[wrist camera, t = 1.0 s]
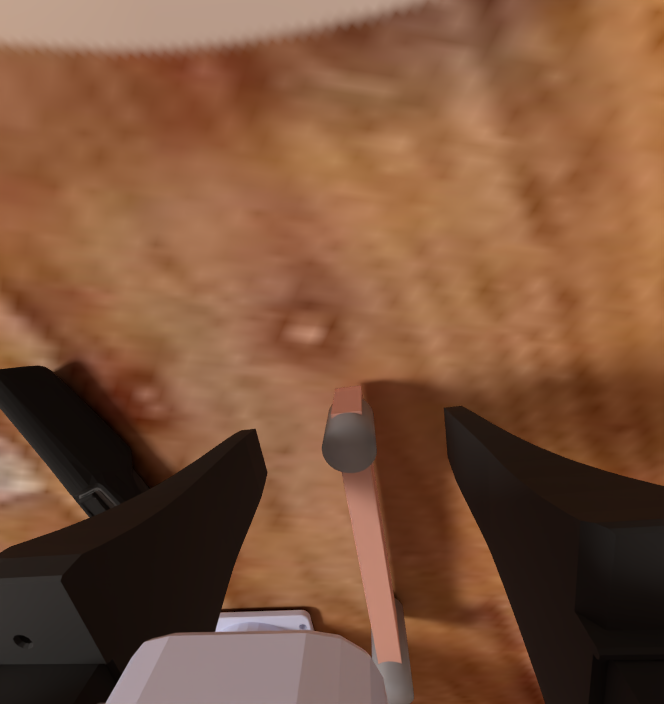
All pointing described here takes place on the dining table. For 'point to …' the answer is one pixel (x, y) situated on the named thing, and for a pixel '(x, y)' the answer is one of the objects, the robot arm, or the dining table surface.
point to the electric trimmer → (70, 438)
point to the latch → (369, 535)
